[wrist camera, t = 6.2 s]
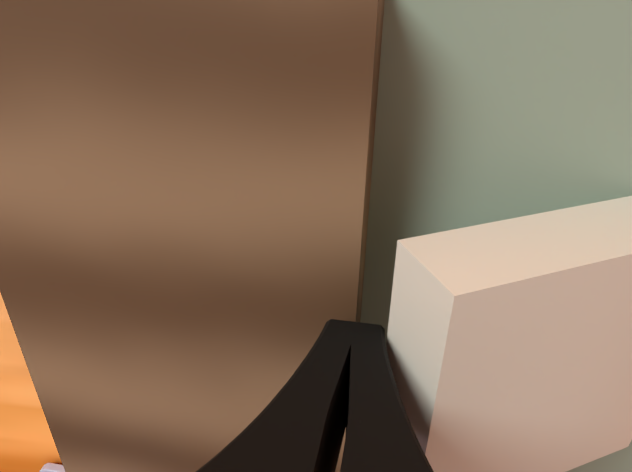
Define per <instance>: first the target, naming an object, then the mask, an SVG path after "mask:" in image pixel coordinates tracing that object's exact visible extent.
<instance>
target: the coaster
mask: <svg viewBox="0 0 632 472" xmlns="http://www.w3.org/2000/svg"><path fill="white" fill-rule="evenodd" d="M386 348H387V353H388V357H389V361H390V365H391V369H392V373H393V376H394V379H395V382H396V385H397V388H398V391H399V394H400V397H401V400H402V403H403V406H404V408H405V411H406V413H407V416H408V418H409V421H410V423H411V425H412V428H413V430H414V432H415V435H416V437H417V439H418V441H419V443H420V445H421V448H422V450H423V452H424V454H425V456H426V458H427V460H428V462H429V464H430V465H431V467H432V469H433V471H434V472H566V471H569V470H571V469H574V468H576V467H579V466H581V465H584V464H586V463H589V462H591V461H594V460H596V459H599V458H601V457H604V456H606V455H609V454H611V453H614V452H616V451H619V450H621V449H624V448H626V447H628V446H629V444H630V442H631V440H632V196H628V197H622V198H617V199H612V200H607V201H601V202H596V203H591V204H585V205H580V206H575V207H570V208H564V209H559V210H554V211H548V212H543V213H538V214H533V215H527V216H522V217H517V218H511V219H506V220H501V221H496V222H490V223H485V224H480V225H475V226H469V227H464V228H459V229H453V230H448V231H443V232H438V233H432V234H427V235H422V236H416V237H411V238H406V239H401V240H397V249H396V259H395V268H394V277H393V286H392V295H391V305H390V314H389V323H388V332H387V341H386Z"/></svg>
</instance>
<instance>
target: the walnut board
mask: <svg viewBox="0 0 632 472" xmlns="http://www.w3.org/2000/svg"><path fill="white" fill-rule="evenodd" d="M384 3H385V0H0V292H1V295H2V297H3V300H4V303H5V306H6V309H7V311H8V314H9V317H10V320H11V322H12V325H13V328H14V331H15V334H16V336H17V339H18V342H19V345H20V347H21V350H22V353H23V356H24V358H25V361H26V364H27V367H28V370H29V372H30V375H31V378H32V381H33V383H34V386H35V389H36V392H37V395H38V397H39V400H40V403H41V406H42V408H43V411H44V414H45V417H46V420H47V422H48V425H49V428H50V431H51V433H52V436H53V439H54V442H55V445H56V447H57V450H58V453H59V456H60V458H61V461H62V464H63V467H64V469H65V472H196V471H197V470H198V469H200V468H201V467H202V466H203V465H205V464H206V463H207V462H208V461H210V460H211V459H212V458H213V457H214V456H216V455H217V454H218V453H219V452H220V451H221V450H222V449H224V448H225V447H226V446H227V445H228V444H229V443H230V442H231V441H232V440H233V439H235V438H236V437H237V436H238V435H239V434H240V433H241V432H242V431H243V430H244V429H245V428H246V427H247V426H248V425H249V424H250V423H251V422H252V421H253V420H254V419H255V418H256V417H257V416H258V415H259V414H260V413H261V412H262V411H263V410H264V408H265V407H266V406H267V405H268V404H269V403H270V402H271V401H272V399H273V398H274V397H275V396H276V395H277V393H278V392H279V391H280V390H281V389H282V387H283V386H284V385H285V384H286V383H287V381H288V380H289V379H290V378H291V376H292V375H293V374H294V372H295V371H296V370H297V368H298V367H299V365H300V364H301V363H302V361H303V360H304V359H305V357H306V356H307V354H308V353H309V351H310V350H311V348H312V347H313V345H314V343H315V342H316V340H317V339H318V337H319V335H320V333H321V332H322V330H323V328H324V326H325V324H326V322H327V321H329V320H330V319H336V320H344V321H353V322H360V321H361V307H362V294H363V281H364V268H365V254H366V241H367V228H368V215H369V201H370V188H371V175H372V162H373V148H374V135H375V122H376V109H377V95H378V82H379V69H380V56H381V43H382V29H383V16H384ZM345 436H346V428H345V432H344V437H343V441H342V445H341V449H340V454H339V458H338V462H337V466H336V470H335V472H340V469H341V463H342V457H343V450H344V444H345Z"/></svg>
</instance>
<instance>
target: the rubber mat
mask: <svg viewBox="0 0 632 472" xmlns="http://www.w3.org/2000/svg"><path fill="white" fill-rule="evenodd" d="M628 196H632V0H385V3H384V16H383V29H382V43H381V56H380V69H379V82H378V95H377V109H376V122H375V135H374V148H373V162H372V175H371V188H370V201H369V215H368V228H367V241H366V254H365V268H364V281H363V294H362V307H361V321H360V322H361V323H370V324H378V325H381V326H382V327H383V328H384V329H385V341H387V332H388V323H389V314H390V305H391V295H392V286H393V277H394V268H395V259H396V249H397V240H401V239H406V238H411V237H416V236H422V235H427V234H432V233H438V232H443V231H448V230H453V229H459V228H464V227H469V226H475V225H480V224H485V223H490V222H496V221H501V220H506V219H511V218H517V217H522V216H527V215H533V214H538V213H543V212H548V211H554V210H559V209H564V208H570V207H575V206H580V205H585V204H591V203H596V202H601V201H607V200H612V199H617V198H622V197H628ZM566 472H632V440H631V442H630V444H629V446H628V447H626V448H624V449H621V450H619V451H616V452H614V453H611V454H609V455H606V456H604V457H601V458H599V459H596V460H594V461H591V462H589V463H586V464H584V465H581V466H579V467H576V468H574V469H571V470H569V471H566Z"/></svg>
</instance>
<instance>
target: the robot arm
mask: <svg viewBox="0 0 632 472" xmlns="http://www.w3.org/2000/svg"><path fill="white" fill-rule="evenodd" d="M345 428H346V436H345V444H344V450H343V457H342V463H341V469H340V472H434V471H433V469H432V467H431V465H430V464H429V462H428V460H427V458H426V456H425V454H424V452H423V450H422V448H421V445H420V443H419V441H418V439H417V437H416V435H415V432H414V430H413V428H412V425H411V423H410V421H409V418H408V416H407V413H406V411H405V408H404V406H403V403H402V400H401V397H400V394H399V391H398V388H397V385H396V382H395V379H394V376H393V373H392V369H391V365H390V361H389V357H388V353H387V348H386V341H385V329H384V328H383V327H382V326H381V325H378V324H370V323H361V322H353V321H344V320H336V319H330V320H329V321H327V322H326V324H325V326H324V328H323V330H322V332H321V333H320V335H319V337H318V339H317V340H316V342H315V343H314V345H313V347H312V348H311V350H310V351H309V353H308V354H307V356H306V357H305V359H304V360H303V361H302V363H301V364H300V365H299V367H298V368H297V370H296V371H295V372H294V374H293V375H292V376H291V378H290V379H289V380H288V381H287V383H286V384H285V385H284V386H283V387H282V389H281V390H280V391H279V392H278V393H277V395H276V396H275V397H274V398H273V399H272V401H271V402H270V403H269V404H268V405H267V406H266V407H265V408H264V410H263V411H262V412H261V413H260V414H259V415H258V416H257V417H256V418H255V419H254V420H253V421H252V422H251V423H250V424H249V425H248V426H247V427H246V428H245V429H244V430H243V431H242V432H241V433H240V434H239V435H238V436H237V437H236V438H235V439H233V440H232V441H231V442H230V443H229V444H228V445H227V446H226V447H225V448H224V449H222V450H221V451H220V452H219V453H218V454H217V455H216V456H214V457H213V458H212V459H211V460H210V461H208V462H207V463H206V464H205V465H203V466H202V467H201V468H200V469H198V470H197V471H196V472H335V470H336V466H337V462H338V458H339V454H340V449H341V445H342V441H343V437H344V432H345ZM40 472H65V469H64V467H63V465H61V464H55V463H47V464H45V465H44V466H43V467H42V469H41V470H40Z"/></svg>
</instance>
